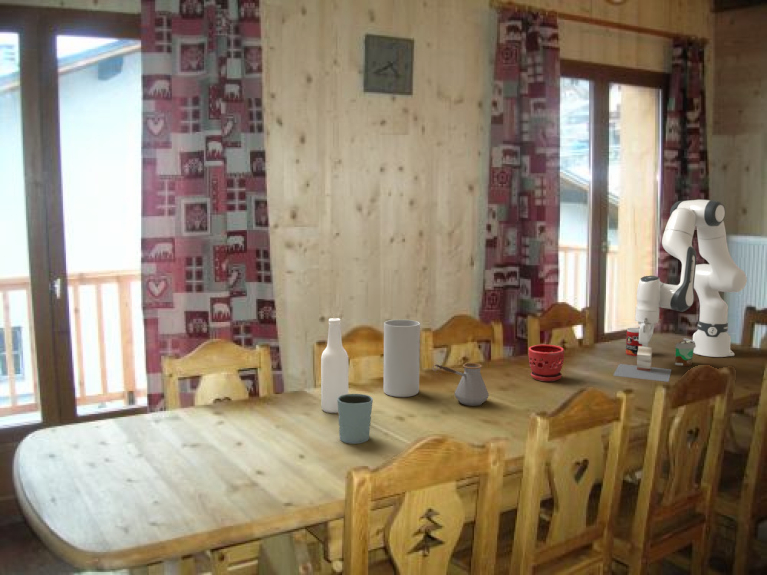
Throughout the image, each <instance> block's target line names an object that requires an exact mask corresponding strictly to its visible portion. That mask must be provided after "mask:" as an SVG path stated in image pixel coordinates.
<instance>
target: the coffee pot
mask: <svg viewBox="0 0 767 575" xmlns="http://www.w3.org/2000/svg"><path fill="white" fill-rule="evenodd" d="M434 366H435V367H436V369H434ZM462 367H463V368H464V372H463V373H462V372H461V371H457V370H456V369H452V368H450V367H447V366H443V365H439V364H434V365H433V366H432V370H433V371H435V372H436V371H437V369H438V368H439V369H440V370H443V371H445V372H449V373H453V374H456V375H458V376H461V379H460V380H459V383H458V385H457V387H456V389H455V391H454V397H455V398H456V399H457V401H458V402H459V403H460V404H462V405H464V406H465V405H466V406H470V407H471V406H472V407H473V406H481V405H482V403H485V402H486V401H487V400H488V399H489V396H490V395H489V391H488V389H487V386H486V384H485V381H484V379H483V376H482V374H481V369H482V368H483V366H482V364H480V363H472V362H466V363H464V364H462Z"/></svg>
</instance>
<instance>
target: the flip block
mask: <svg viewBox="0 0 767 575" xmlns="http://www.w3.org/2000/svg"><path fill="white" fill-rule="evenodd" d="M652 352H653V348H652V347H650V346H648V347H642V346H639V347H638V352H637V356H636V366H637V370H645V371H650V370H651V367H652V360H653V358H652V356H653V353H652Z"/></svg>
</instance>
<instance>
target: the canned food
mask: <svg viewBox="0 0 767 575" xmlns="http://www.w3.org/2000/svg"><path fill="white" fill-rule="evenodd" d="M639 329H640V327H629V328H627V329H626V340H625V354H626V355H627V356H631V357H632V356H633V357H637V352H638V347H639V346H642V344H639Z"/></svg>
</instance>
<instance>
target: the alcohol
mask: <svg viewBox="0 0 767 575" xmlns="http://www.w3.org/2000/svg"><path fill="white" fill-rule="evenodd" d="M327 321H328V330H327V331H328V332H327V334H328V335H327V342H326V343H327V344H326V347H325V348H324V350H323V351H322V353H321V356H320V369H321V370H320V372H321V373H320V377H321V378H320V384H321V387H320V390H321V391H320V393H321V394H320V396H321V397H320V401H321V405H320V407H321V409H322V410H323V411H322V412H325V413H328V414H339V413H338V402H337V398H338V397H339V396H342V395H346V394H349V354H348V352H347V351H346V350H347V349H345V347H344V346H343V341H342V340H343V339H342V328H341V324H342V322H341V321H342V319H340V318H338V317H333V318H332V317H330V318H329V319H328V320H327Z"/></svg>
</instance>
